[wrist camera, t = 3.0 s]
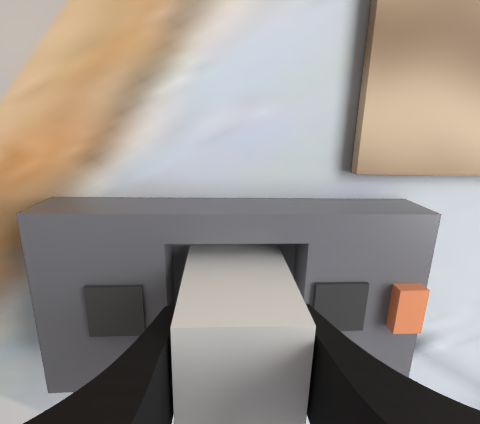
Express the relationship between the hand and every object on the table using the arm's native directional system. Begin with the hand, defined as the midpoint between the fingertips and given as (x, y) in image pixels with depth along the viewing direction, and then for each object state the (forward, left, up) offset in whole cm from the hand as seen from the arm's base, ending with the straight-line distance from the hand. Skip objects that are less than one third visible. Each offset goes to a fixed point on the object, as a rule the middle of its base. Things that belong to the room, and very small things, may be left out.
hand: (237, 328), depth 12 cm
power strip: (0, 0, -4) cm, 4 cm away
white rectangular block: (0, 0, -3) cm, 3 cm away
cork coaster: (+10, -10, -4) cm, 15 cm away
